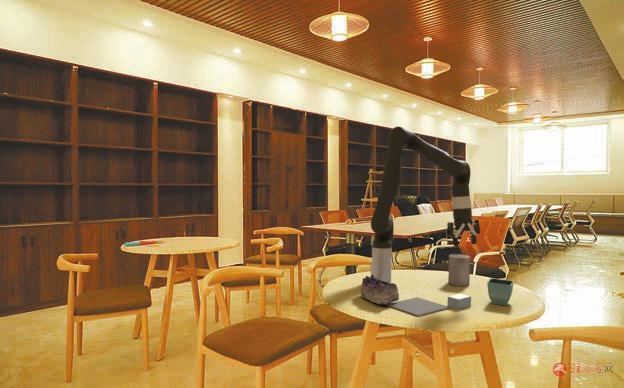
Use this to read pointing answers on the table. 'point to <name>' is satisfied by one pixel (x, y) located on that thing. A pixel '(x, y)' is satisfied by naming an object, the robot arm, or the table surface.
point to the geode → (379, 291)
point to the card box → (459, 301)
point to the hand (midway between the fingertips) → (464, 245)
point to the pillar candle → (459, 270)
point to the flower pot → (500, 291)
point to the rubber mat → (418, 306)
